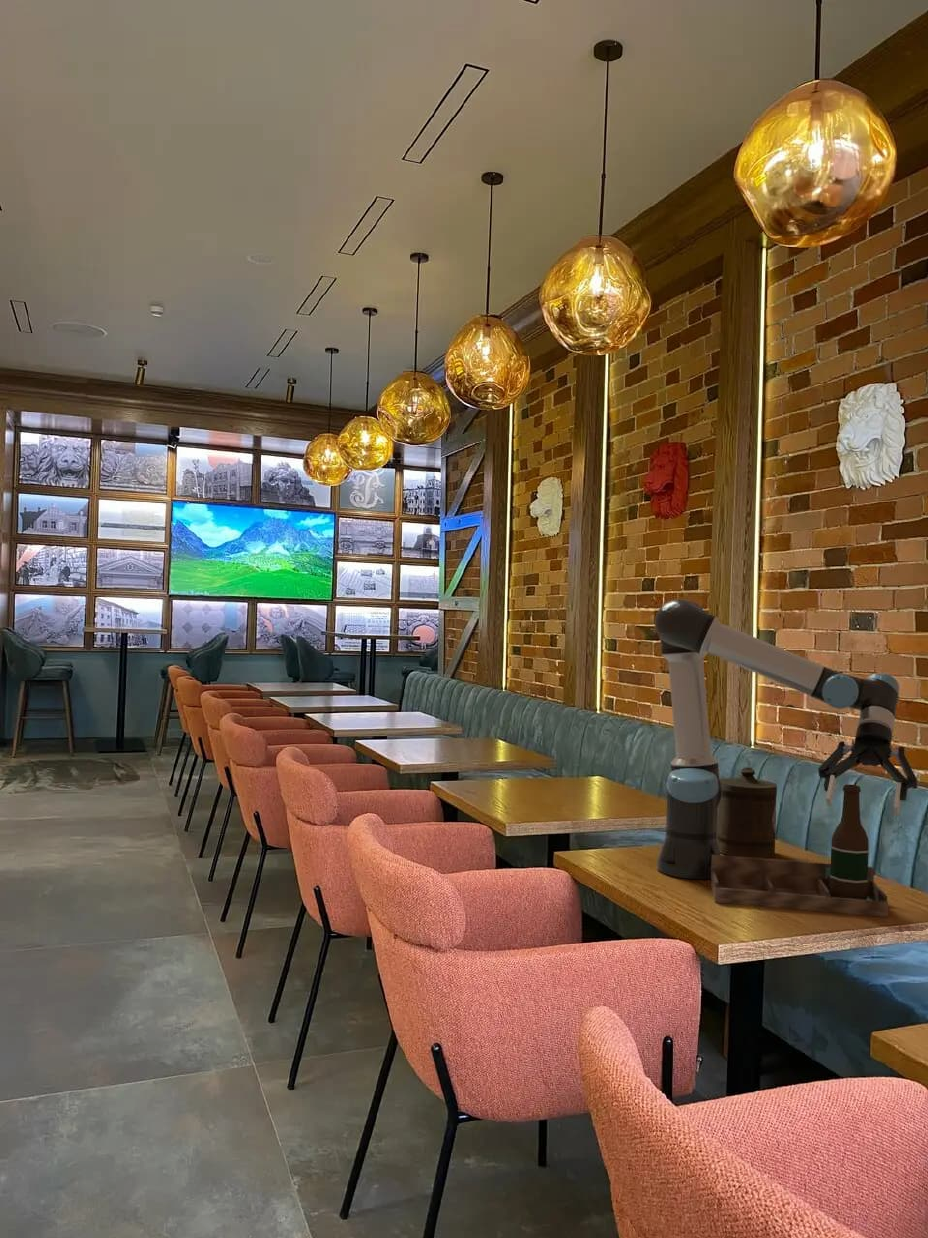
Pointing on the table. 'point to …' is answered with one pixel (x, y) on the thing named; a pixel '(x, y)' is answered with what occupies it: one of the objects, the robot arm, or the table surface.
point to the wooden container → (747, 817)
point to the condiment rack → (787, 886)
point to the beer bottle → (849, 850)
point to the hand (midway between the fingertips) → (861, 806)
